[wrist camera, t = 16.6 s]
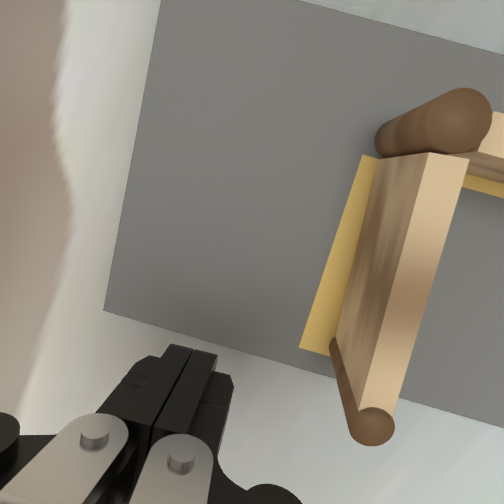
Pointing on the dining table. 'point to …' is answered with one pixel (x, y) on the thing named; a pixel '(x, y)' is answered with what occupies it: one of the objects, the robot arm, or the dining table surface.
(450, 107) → the fence fixed
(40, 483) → the robot arm
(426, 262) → the fence panel hinged
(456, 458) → the dining table surface
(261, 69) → the card
